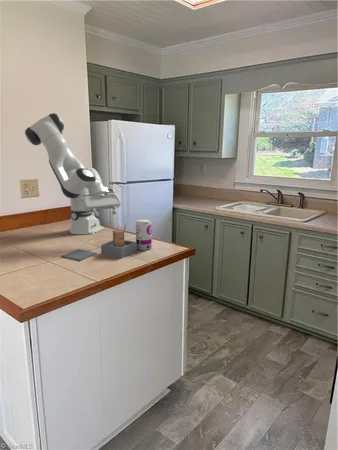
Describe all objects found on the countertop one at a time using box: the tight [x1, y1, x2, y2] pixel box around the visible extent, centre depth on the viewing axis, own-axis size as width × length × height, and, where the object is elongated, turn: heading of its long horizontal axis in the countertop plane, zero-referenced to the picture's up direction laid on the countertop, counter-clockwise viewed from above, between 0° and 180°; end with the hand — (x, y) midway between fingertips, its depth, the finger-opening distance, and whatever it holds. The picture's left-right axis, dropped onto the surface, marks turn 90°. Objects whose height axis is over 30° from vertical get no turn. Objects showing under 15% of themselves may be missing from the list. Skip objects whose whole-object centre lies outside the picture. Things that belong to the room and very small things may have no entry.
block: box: [112, 229, 125, 247], centre depth 166 cm, size 4×4×8 cm
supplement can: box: [135, 218, 153, 251], centre depth 174 cm, size 8×8×15 cm
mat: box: [60, 248, 98, 262], centre depth 163 cm, size 12×12×1 cm
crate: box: [100, 239, 138, 259], centre depth 167 cm, size 13×13×6 cm
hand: (106, 214), depth 173 cm, fingers open, 8 cm apart
